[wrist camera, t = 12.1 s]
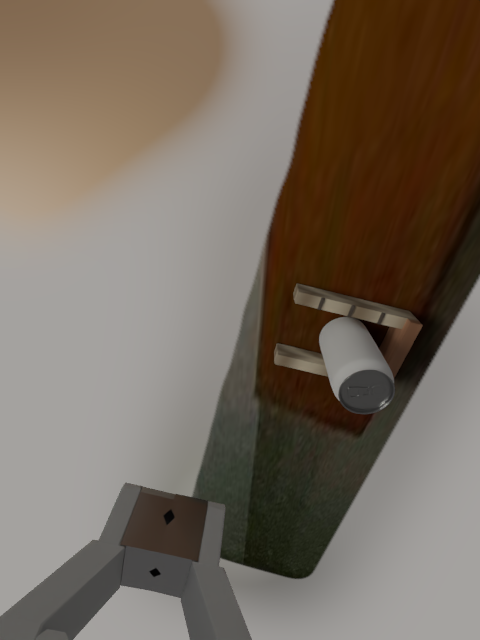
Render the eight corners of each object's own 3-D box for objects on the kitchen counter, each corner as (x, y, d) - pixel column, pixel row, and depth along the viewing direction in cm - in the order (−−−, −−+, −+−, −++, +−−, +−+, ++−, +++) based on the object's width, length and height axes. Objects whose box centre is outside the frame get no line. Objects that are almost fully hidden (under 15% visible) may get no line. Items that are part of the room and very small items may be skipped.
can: (368, 354, 46) (398, 414, 35) (320, 359, 47) (336, 420, 36) (367, 312, 43) (400, 363, 32) (316, 318, 44) (332, 370, 33)
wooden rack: (274, 352, 47) (274, 368, 43) (296, 283, 42) (299, 294, 39) (376, 376, 47) (385, 394, 44) (409, 311, 43) (422, 325, 39)
